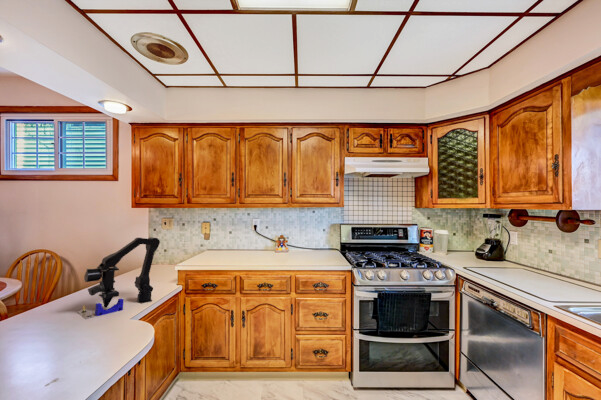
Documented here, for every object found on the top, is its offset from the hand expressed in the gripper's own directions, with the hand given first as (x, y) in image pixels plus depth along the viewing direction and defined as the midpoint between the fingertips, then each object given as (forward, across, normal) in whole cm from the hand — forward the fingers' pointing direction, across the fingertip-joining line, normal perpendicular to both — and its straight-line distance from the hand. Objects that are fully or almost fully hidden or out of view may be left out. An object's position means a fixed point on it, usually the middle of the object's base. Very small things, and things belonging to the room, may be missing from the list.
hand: (105, 307), depth 147 cm
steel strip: (+1, +1, -9) cm, 9 cm away
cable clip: (+2, +6, 0) cm, 6 cm away
